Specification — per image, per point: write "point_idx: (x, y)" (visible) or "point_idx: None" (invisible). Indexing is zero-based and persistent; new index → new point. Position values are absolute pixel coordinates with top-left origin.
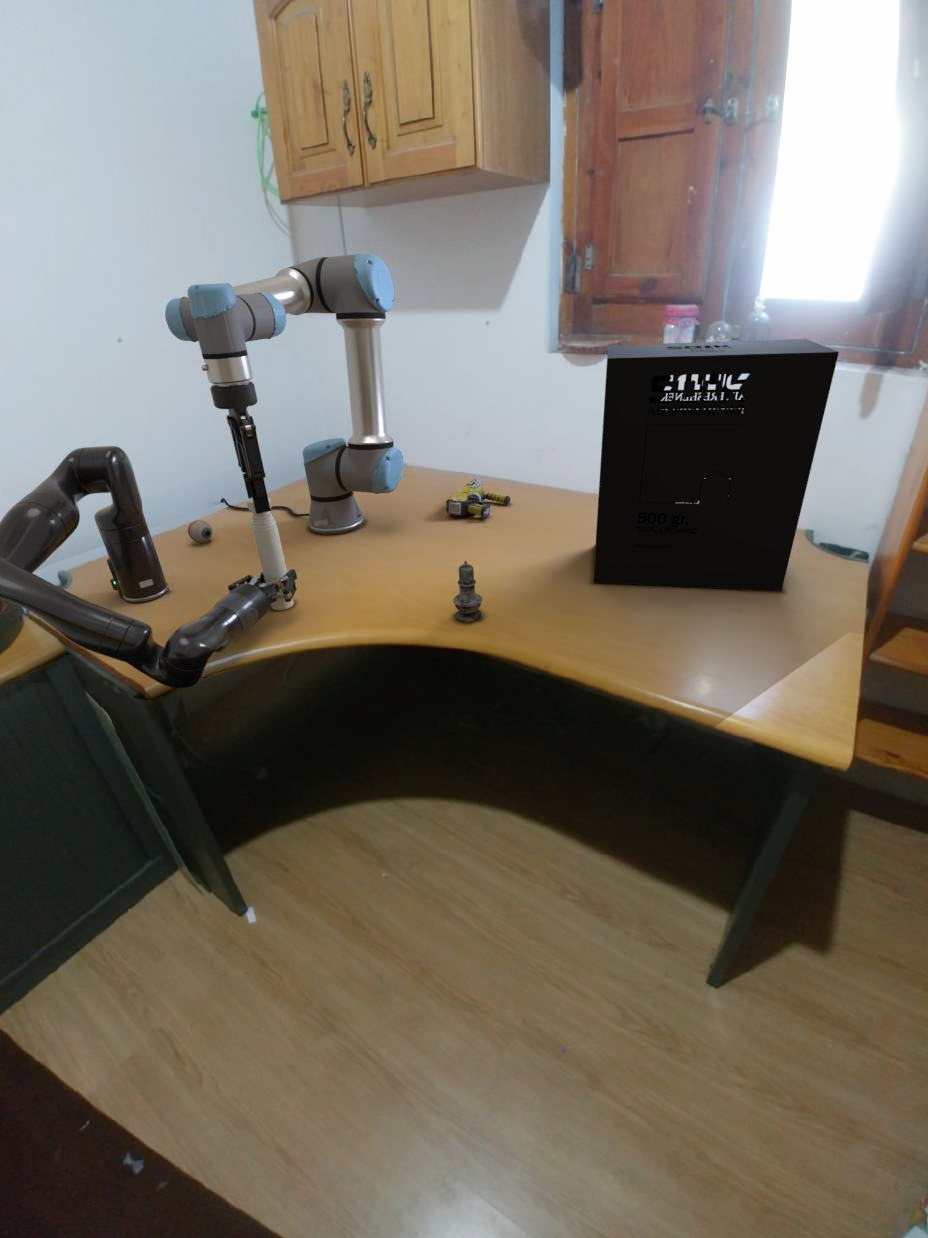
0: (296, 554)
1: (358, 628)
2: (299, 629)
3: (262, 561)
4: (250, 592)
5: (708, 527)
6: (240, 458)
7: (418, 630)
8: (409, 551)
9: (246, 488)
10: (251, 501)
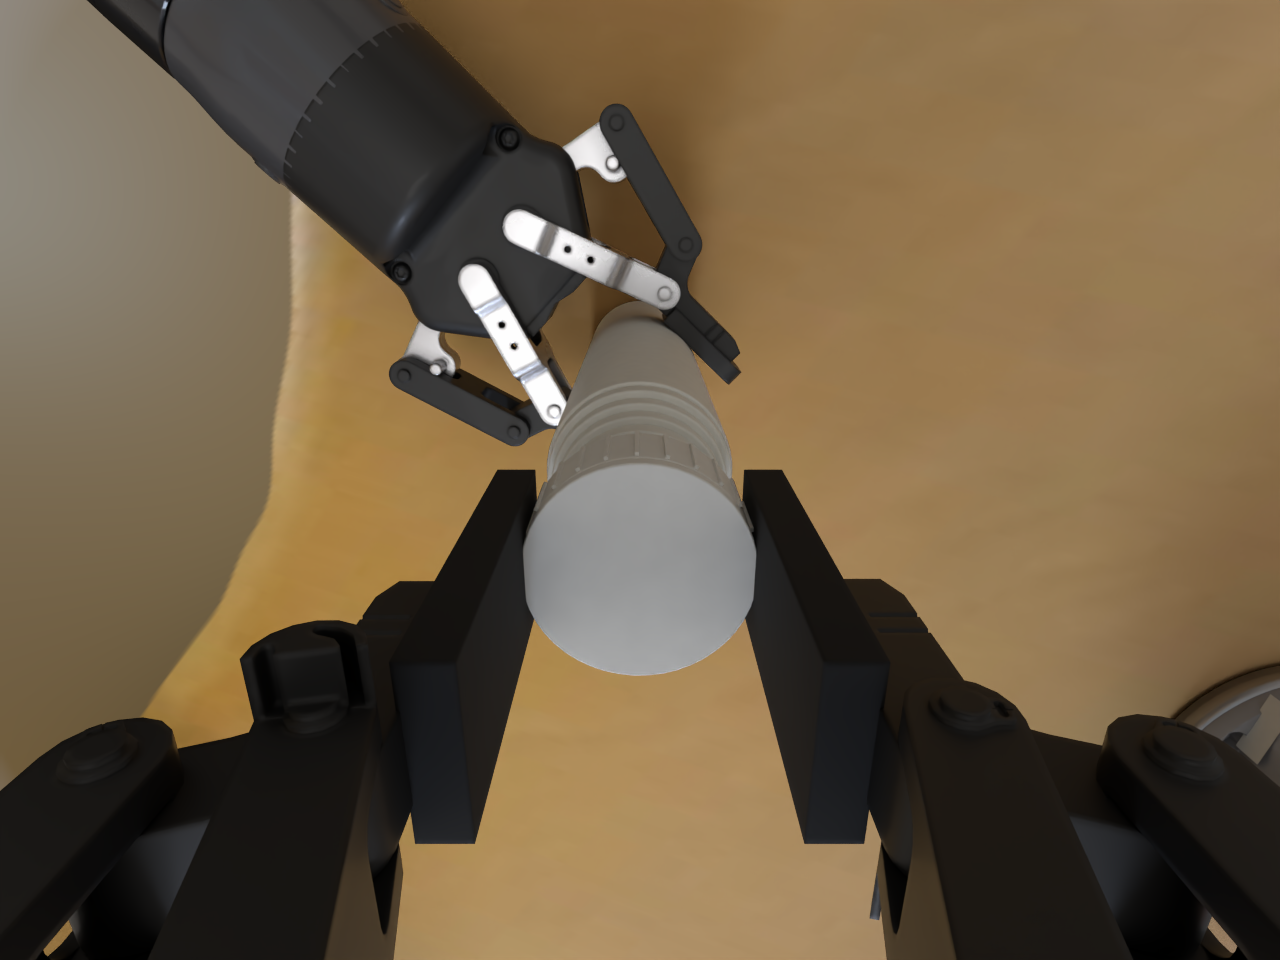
0: (1102, 537)
1: (295, 535)
2: (390, 351)
3: (610, 343)
4: (329, 190)
5: None
6: (948, 935)
7: (196, 683)
8: (785, 870)
9: (799, 551)
10: (607, 500)
